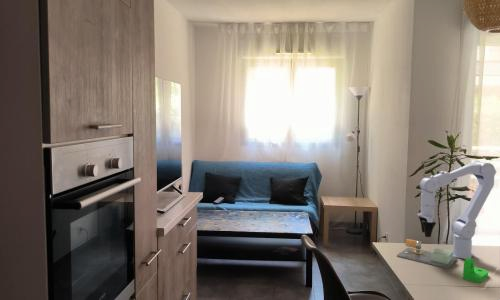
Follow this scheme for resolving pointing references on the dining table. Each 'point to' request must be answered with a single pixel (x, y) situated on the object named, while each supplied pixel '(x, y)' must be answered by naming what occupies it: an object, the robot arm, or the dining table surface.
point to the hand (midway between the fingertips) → (426, 234)
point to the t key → (414, 244)
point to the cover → (441, 255)
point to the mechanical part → (473, 271)
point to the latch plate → (423, 257)
